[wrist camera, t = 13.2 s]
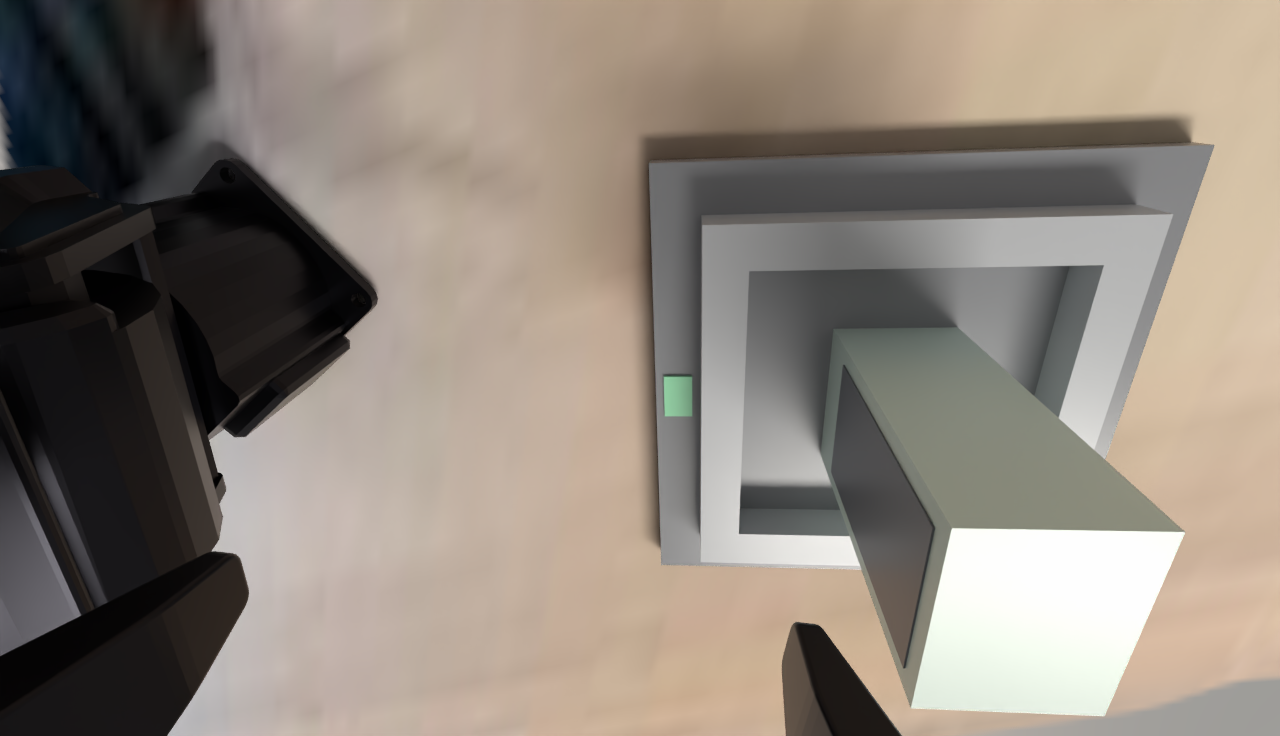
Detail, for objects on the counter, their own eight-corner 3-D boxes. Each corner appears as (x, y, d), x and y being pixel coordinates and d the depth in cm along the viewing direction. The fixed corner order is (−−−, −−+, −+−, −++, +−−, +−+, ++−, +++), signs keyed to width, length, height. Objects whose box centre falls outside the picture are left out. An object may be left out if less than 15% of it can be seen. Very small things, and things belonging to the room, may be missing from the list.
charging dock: (662, 551, 26) (659, 592, 24) (650, 160, 19) (645, 169, 17) (1054, 560, 24) (1088, 604, 22) (1192, 142, 18) (1260, 149, 16)
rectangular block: (819, 454, 22) (908, 708, 13) (832, 328, 20) (948, 528, 11) (932, 455, 22) (1104, 716, 13) (957, 327, 20) (1185, 532, 11)
